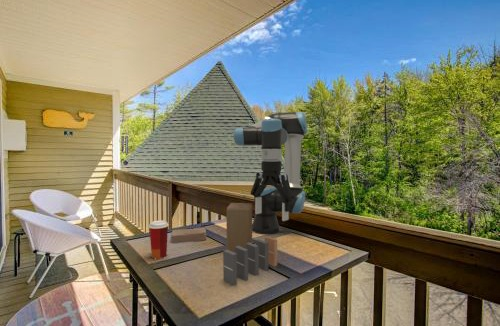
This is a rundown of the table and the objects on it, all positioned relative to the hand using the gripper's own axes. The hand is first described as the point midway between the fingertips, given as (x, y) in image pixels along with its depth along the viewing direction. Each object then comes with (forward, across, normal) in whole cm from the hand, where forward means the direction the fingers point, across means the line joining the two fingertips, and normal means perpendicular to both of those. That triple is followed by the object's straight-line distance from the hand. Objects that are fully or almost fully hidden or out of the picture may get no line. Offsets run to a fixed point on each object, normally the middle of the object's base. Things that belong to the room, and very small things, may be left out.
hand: (271, 216), depth 99 cm
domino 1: (+18, 0, -20) cm, 27 cm away
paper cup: (+18, -36, -28) cm, 49 cm away
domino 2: (+18, 0, -15) cm, 24 cm away
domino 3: (+18, 0, -10) cm, 21 cm away
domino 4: (+18, 0, -5) cm, 19 cm away
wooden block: (+18, -18, 0) cm, 26 cm away
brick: (+19, -46, -8) cm, 51 cm away
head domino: (+18, 0, 0) cm, 18 cm away
